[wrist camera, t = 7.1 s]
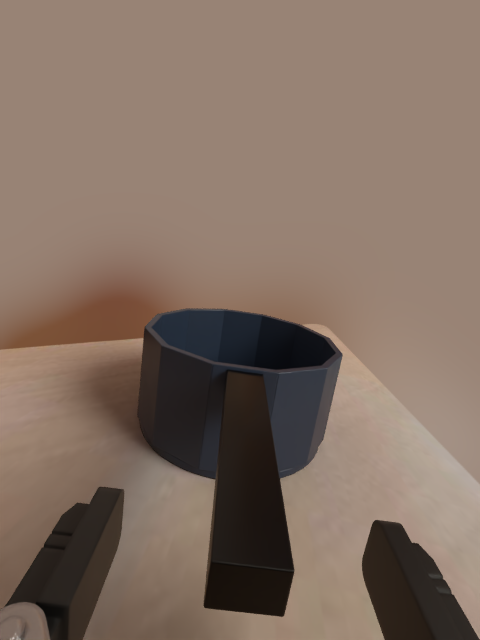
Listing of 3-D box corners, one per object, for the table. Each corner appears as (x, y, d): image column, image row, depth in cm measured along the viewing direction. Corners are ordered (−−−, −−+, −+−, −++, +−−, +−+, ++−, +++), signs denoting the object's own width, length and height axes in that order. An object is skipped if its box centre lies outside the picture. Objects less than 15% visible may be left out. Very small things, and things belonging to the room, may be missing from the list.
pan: (-32, 741, 11) (-46, 525, 9) (161, 374, 38) (169, 301, 36) (448, 786, 11) (536, 593, 9) (302, 393, 38) (316, 321, 36)
